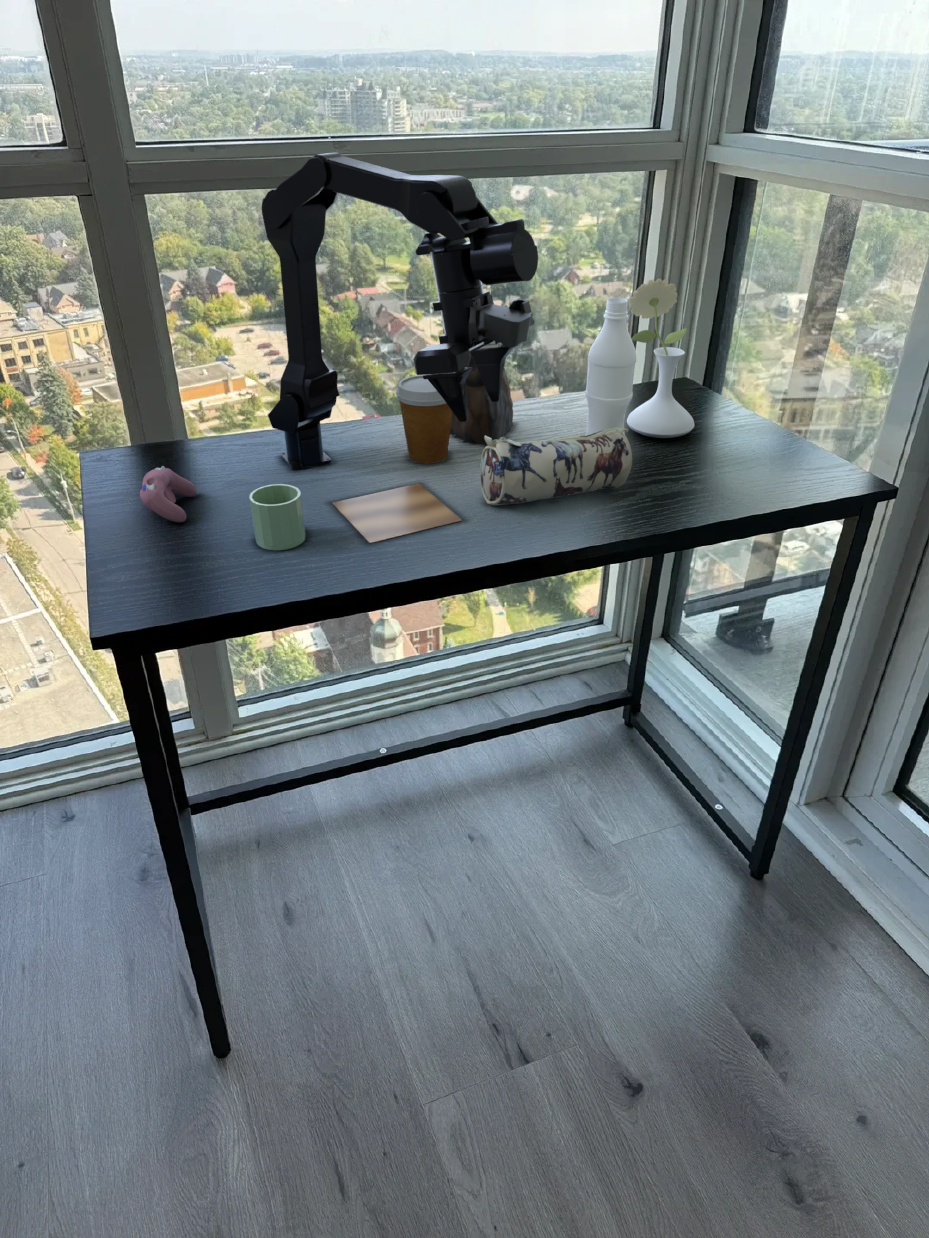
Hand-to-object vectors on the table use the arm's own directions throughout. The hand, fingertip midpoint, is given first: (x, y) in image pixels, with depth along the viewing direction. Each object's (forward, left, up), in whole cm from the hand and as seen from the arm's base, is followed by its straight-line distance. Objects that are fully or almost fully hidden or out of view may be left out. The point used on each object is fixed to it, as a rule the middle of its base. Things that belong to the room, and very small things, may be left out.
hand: (480, 411), depth 115 cm
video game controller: (-21, -39, -15) cm, 47 cm away
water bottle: (-5, +25, -15) cm, 30 cm away
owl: (-26, +15, -15) cm, 34 cm away
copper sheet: (-5, -11, -15) cm, 19 cm away
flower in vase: (-12, +41, -15) cm, 46 cm away
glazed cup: (-5, -28, -15) cm, 32 cm away
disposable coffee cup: (-21, +2, -15) cm, 26 cm away
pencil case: (+1, +12, -15) cm, 19 cm away
